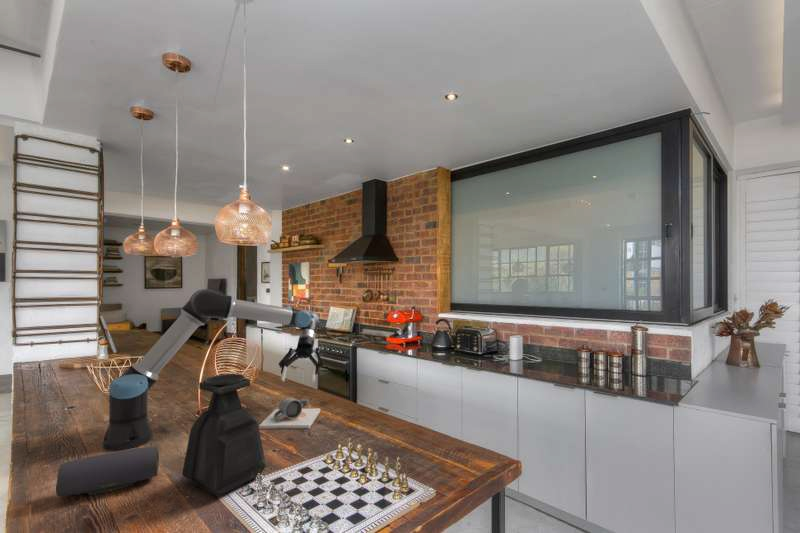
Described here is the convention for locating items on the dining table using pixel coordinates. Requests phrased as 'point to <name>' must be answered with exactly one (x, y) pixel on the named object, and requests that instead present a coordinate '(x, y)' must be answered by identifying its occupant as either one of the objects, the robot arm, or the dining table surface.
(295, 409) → the ceramic mug
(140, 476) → the bluetooth speaker
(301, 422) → the charging plate
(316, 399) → the dining table surface
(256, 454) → the bottle
